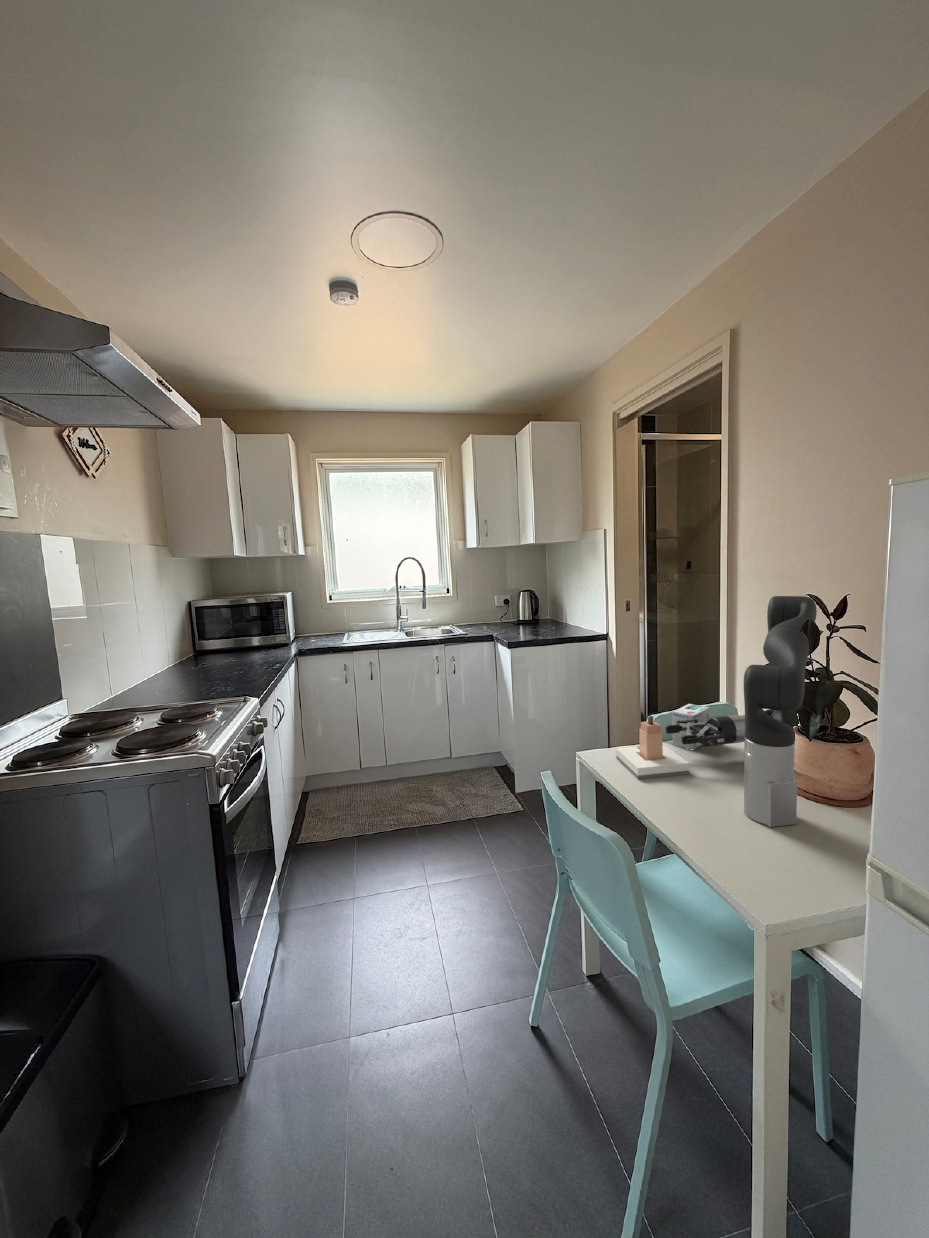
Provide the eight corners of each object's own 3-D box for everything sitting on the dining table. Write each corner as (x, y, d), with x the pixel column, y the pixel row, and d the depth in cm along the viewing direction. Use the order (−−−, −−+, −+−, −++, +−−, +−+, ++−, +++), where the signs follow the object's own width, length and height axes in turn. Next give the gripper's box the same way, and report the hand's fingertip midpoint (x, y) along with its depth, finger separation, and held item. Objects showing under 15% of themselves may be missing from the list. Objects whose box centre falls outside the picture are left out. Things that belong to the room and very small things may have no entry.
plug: (662, 764, 137) (662, 718, 135) (647, 766, 137) (646, 719, 135) (654, 758, 141) (654, 713, 140) (639, 760, 141) (639, 714, 139)
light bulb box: (688, 735, 160) (688, 702, 158) (710, 741, 155) (710, 706, 153) (671, 745, 153) (671, 710, 152) (693, 751, 148) (693, 715, 146)
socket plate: (689, 774, 133) (689, 761, 132) (637, 779, 131) (637, 767, 131) (663, 753, 147) (662, 743, 146) (616, 758, 145) (616, 747, 145)
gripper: (714, 708, 147) (660, 713, 145) (746, 724, 133) (687, 730, 131) (714, 733, 148) (661, 739, 146) (746, 752, 134) (688, 757, 132)
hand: (673, 734), depth 139 cm, fingers open, 8 cm apart
